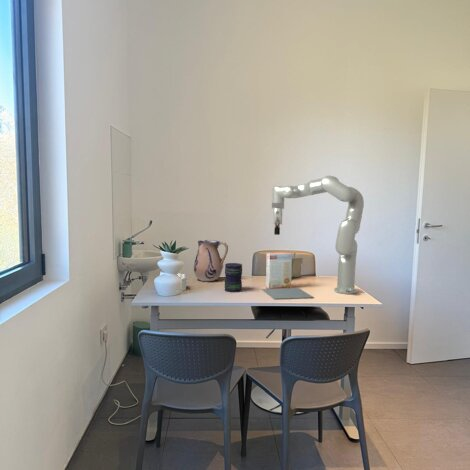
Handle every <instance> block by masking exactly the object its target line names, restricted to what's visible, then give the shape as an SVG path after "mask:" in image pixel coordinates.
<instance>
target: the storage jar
mask: <svg viewBox="0 0 470 470" xmlns="http://www.w3.org/2000/svg"><path fill="white" fill-rule="evenodd" d="M224 275H225V276H224V277H225V278H224V292H226V293H240V292H242V288H243V287H242V286H243V284H242V283H243V282H242V281H243V280H242V276H243V263H239V262H229V263H225V264H224Z"/></svg>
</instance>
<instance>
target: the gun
mask: <svg viewBox="0 0 470 470" xmlns="http://www.w3.org/2000/svg"><path fill="white" fill-rule="evenodd" d="M303 261H304V260H303V257H300V256H299V257H298V256H297V257H292V270H291V279H292V278H300V277H302V264H303Z"/></svg>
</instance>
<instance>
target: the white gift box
mask: <svg viewBox="0 0 470 470" xmlns="http://www.w3.org/2000/svg"><path fill="white" fill-rule="evenodd" d="M177 275H178V276H179V277H181V279H182V282H183V283H182V289H181V290H179V291H176V292H175V293H179V292H180V293H181V292H184V291H186V290H187V275H186V274H185V273H180V272H179V273H178V274H177Z"/></svg>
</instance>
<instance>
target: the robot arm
mask: <svg viewBox="0 0 470 470" xmlns="http://www.w3.org/2000/svg"><path fill="white" fill-rule="evenodd" d="M271 191H272V192H271V193H272V195H271V209H273V225H274V231H273V232H274V235H278V236H279V235H280V234H281V232H280V231H281V227H280V225H283V210H284V209H285V199H298V198H304V197H309V196H314V195H319V194H324V193H328V194H330V195H331V196H332V197H334V198H336V199H337V200H339V201H341V202H343V203H348V206H347V208H346V209H347V210H346V214H345V219H343V220H342V221H341V222H340V224H339V226H338V230H337V234H336V235H337V236H336V241H335V245H334V246H335V247H334V248H335V251H336V252H337V254H338V263H337V264H338V266H337V282H336V283H337V287H334V289H333V290H334V292H336V293H339V294H344V295H352V294H353V295H354V294H357V293H358V290H357V289H356V288H355V282H356V280H355V279H356V263H357V262H356V261H357V253H358V243H357V240H356V239H355V237H356V235H357V234H358V233H359V231H360V229H361V222H362V218H363V212H364V205H365V202H364V197H363V195H362V193H361V192H360V191H359V190H358V189H357V188H355V187H352V186H347V185H346V184H344V183H342V182H341V181H340V180H339V178H337V177H336V176H334V175H333V176H332V175H325V176H324V177H321V178H317V179H313V180H310V181H308V182H307V183H303V184H298V185H284V186H283V185H282V186H281V185H274V186H273V187H272V190H271Z"/></svg>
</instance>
